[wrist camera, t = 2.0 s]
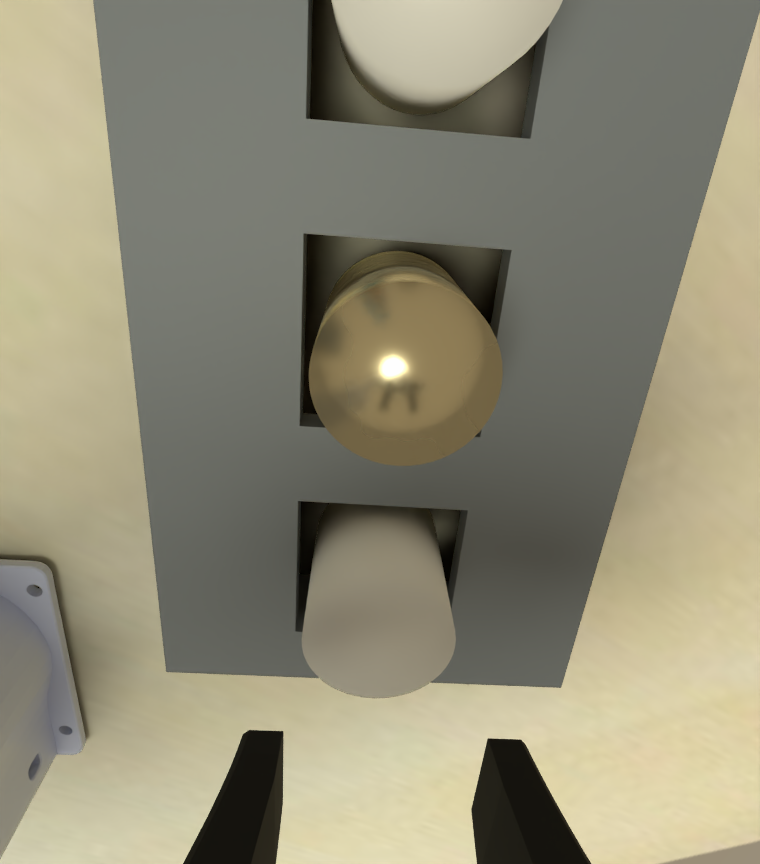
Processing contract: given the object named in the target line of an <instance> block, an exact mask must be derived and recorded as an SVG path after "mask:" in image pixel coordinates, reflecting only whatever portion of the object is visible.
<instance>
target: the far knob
mask: <svg viewBox="0 0 760 864" xmlns="http://www.w3.org/2000/svg"><path fill="white" fill-rule="evenodd" d="M455 643H456V635H455V628H454V623H453V617H452V612H451V607H450V602H449V597H448V591H447V586H446V581H445V576H444V571H443V565H442V560H441V555H440V550H439V545H438V539H437V534H436V529H435V524H434V520H433V518H432V515H431V513H430V512H429V510H428V508H415V507H397V506H380V505H362V504H344V503H330V504H329V505H328V506H327V507H326V508H325V510H324V511H323V513H322V515H321V517H320V519H319V523H318V526H317V533H316V540H315V547H314V554H313V561H312V568H311V575H310V583H309V590H308V597H307V604H306V611H305V618H304V625H303V632H302V650H303V654H304V657H305V659H306V661H307V663H308V665H309V667H310V668H311V669H312V671H313V672H314V673H315V674H316V675H317V676H318V677H319V678H320V679H321V680H322V681H324V682H325V683H327V684H328V685H329V686H331V687H333V688H335V689H337V690H339V691H342V692H344V693H347V694H351V695H354V696H359V697H366V698H388V697H395V696H400V695H404V694H407V693H411V692H413V691H415V690H418V689H420V688H422V687H424V686H425V685H427V684H429V683H430V682H431V681H433V680H434V679H435V678H437V677H438V676H439V675H440V674H441V673H442V672H443V670H444V669H445V668H446V667H447V665H448V663H449V662H450V660H451V658H452V656H453V653H454V649H455Z"/></svg>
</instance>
